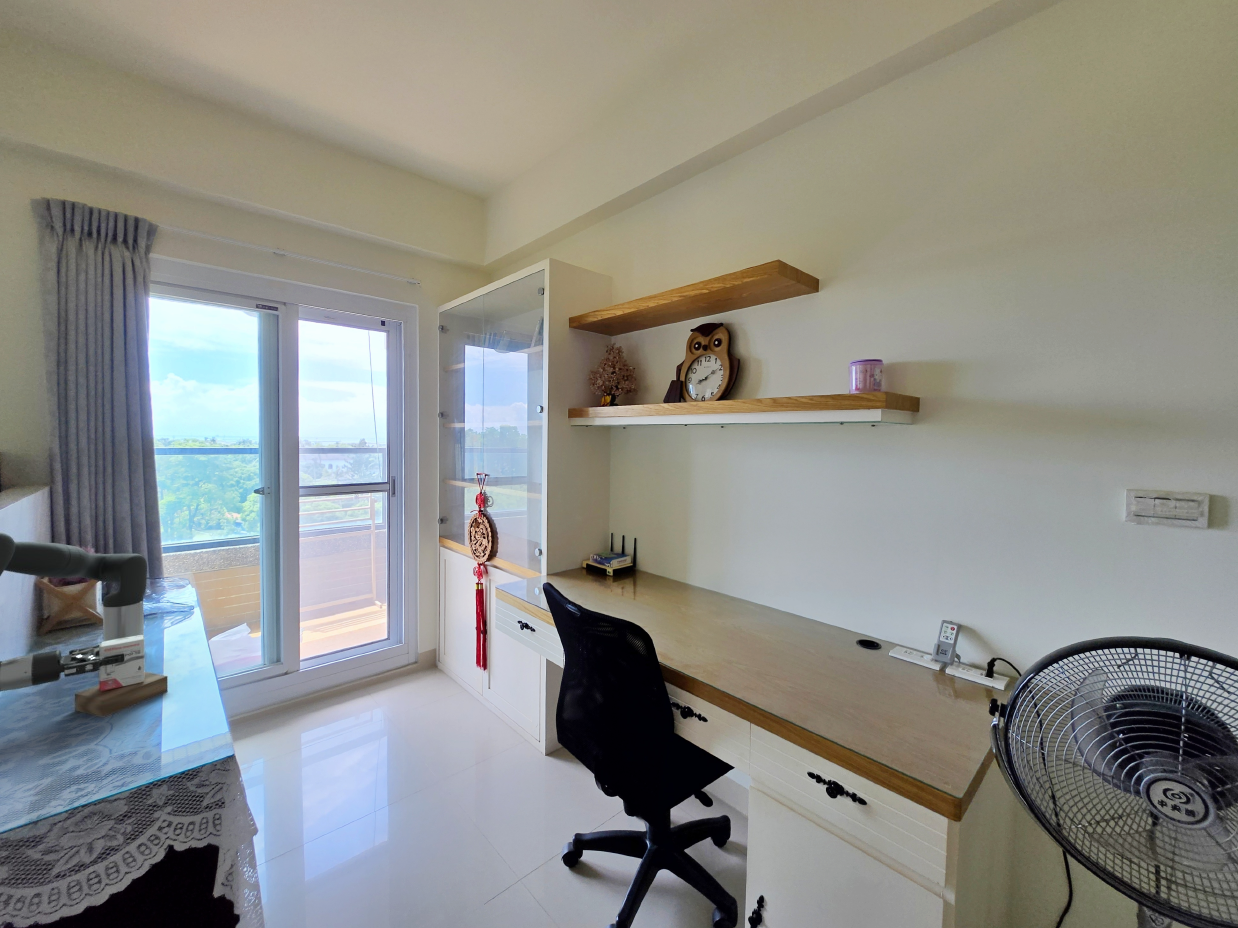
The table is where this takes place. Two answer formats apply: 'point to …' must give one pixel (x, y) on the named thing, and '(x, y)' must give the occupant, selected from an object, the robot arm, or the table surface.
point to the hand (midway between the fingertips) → (124, 652)
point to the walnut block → (120, 696)
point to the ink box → (126, 670)
